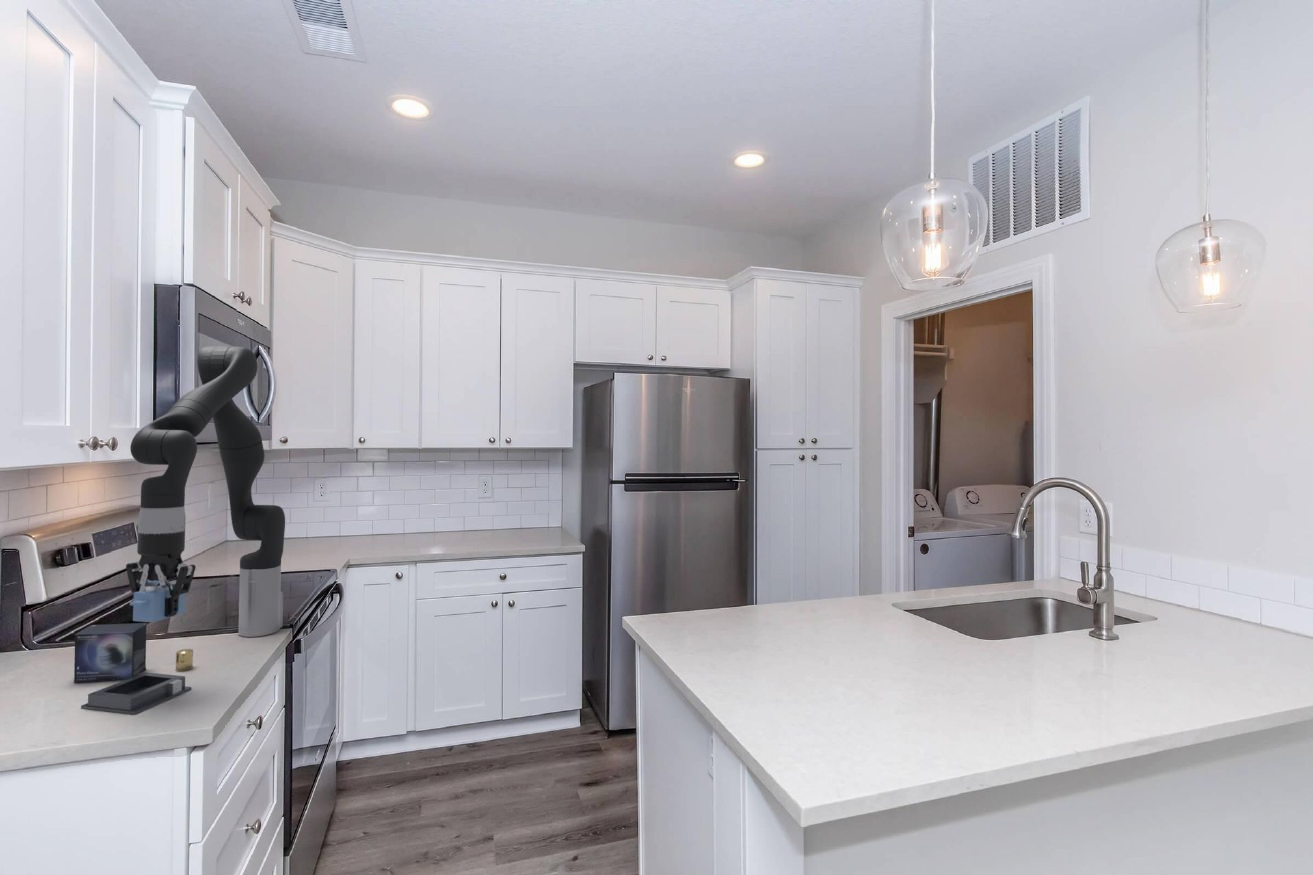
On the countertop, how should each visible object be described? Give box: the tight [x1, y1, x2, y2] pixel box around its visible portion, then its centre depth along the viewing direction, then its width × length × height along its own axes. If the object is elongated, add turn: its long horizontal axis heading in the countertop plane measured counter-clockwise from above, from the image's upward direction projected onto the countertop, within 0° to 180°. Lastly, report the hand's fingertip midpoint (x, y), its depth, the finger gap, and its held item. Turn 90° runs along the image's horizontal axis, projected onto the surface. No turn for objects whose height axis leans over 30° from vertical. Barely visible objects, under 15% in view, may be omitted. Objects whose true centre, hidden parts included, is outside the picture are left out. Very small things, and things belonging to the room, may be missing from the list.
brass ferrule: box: [175, 648, 194, 673], centre depth 143 cm, size 3×3×4 cm
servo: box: [129, 585, 189, 623], centre depth 129 cm, size 10×4×6 cm, turn 171°
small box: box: [73, 622, 148, 684], centre depth 137 cm, size 11×6×10 cm, turn 105°
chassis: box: [80, 671, 192, 716], centre depth 127 cm, size 12×12×3 cm
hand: (159, 614), depth 129 cm, fingers closed on servo, 4 cm apart
